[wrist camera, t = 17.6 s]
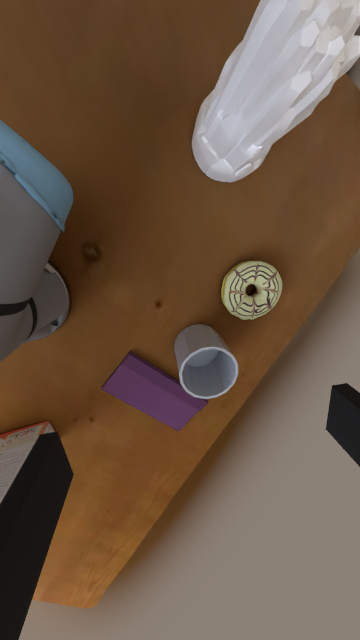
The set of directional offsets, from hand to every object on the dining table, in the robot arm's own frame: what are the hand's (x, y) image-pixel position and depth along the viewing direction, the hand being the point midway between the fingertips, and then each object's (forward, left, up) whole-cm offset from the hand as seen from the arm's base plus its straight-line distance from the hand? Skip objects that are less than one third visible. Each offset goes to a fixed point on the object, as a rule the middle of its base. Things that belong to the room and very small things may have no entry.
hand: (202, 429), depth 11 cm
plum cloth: (-5, -22, -33) cm, 40 cm away
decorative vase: (+12, +21, -33) cm, 41 cm away
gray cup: (+5, -12, -33) cm, 35 cm away
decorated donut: (+15, -2, -33) cm, 36 cm away
